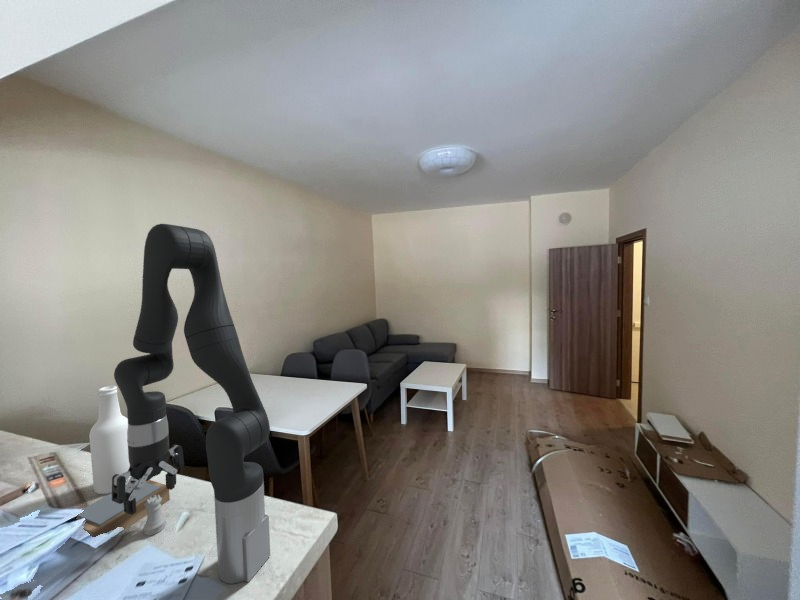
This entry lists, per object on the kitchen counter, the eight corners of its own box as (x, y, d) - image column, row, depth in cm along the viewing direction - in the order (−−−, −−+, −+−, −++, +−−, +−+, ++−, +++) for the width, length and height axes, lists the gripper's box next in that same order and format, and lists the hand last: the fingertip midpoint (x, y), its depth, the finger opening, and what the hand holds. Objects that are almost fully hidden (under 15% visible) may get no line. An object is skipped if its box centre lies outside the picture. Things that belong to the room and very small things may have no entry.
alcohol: (99, 500, 82) (90, 395, 80) (90, 488, 87) (81, 389, 85) (139, 481, 90) (132, 385, 88) (129, 472, 94) (122, 380, 92)
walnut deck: (169, 499, 82) (168, 485, 82) (95, 549, 67) (94, 532, 67) (141, 490, 86) (140, 477, 86) (64, 535, 71) (63, 519, 70)
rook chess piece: (162, 518, 75) (160, 489, 75) (170, 526, 73) (168, 495, 73) (140, 531, 72) (137, 500, 71) (147, 540, 69) (145, 507, 69)
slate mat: (160, 488, 81) (160, 486, 81) (100, 526, 68) (99, 524, 68) (136, 481, 84) (136, 479, 84) (74, 515, 72) (74, 513, 72)
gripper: (123, 456, 63) (127, 527, 64) (189, 425, 76) (191, 484, 78) (101, 449, 65) (105, 518, 66) (169, 420, 79) (172, 477, 80)
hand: (152, 499), depth 72 cm, fingers open, 8 cm apart
